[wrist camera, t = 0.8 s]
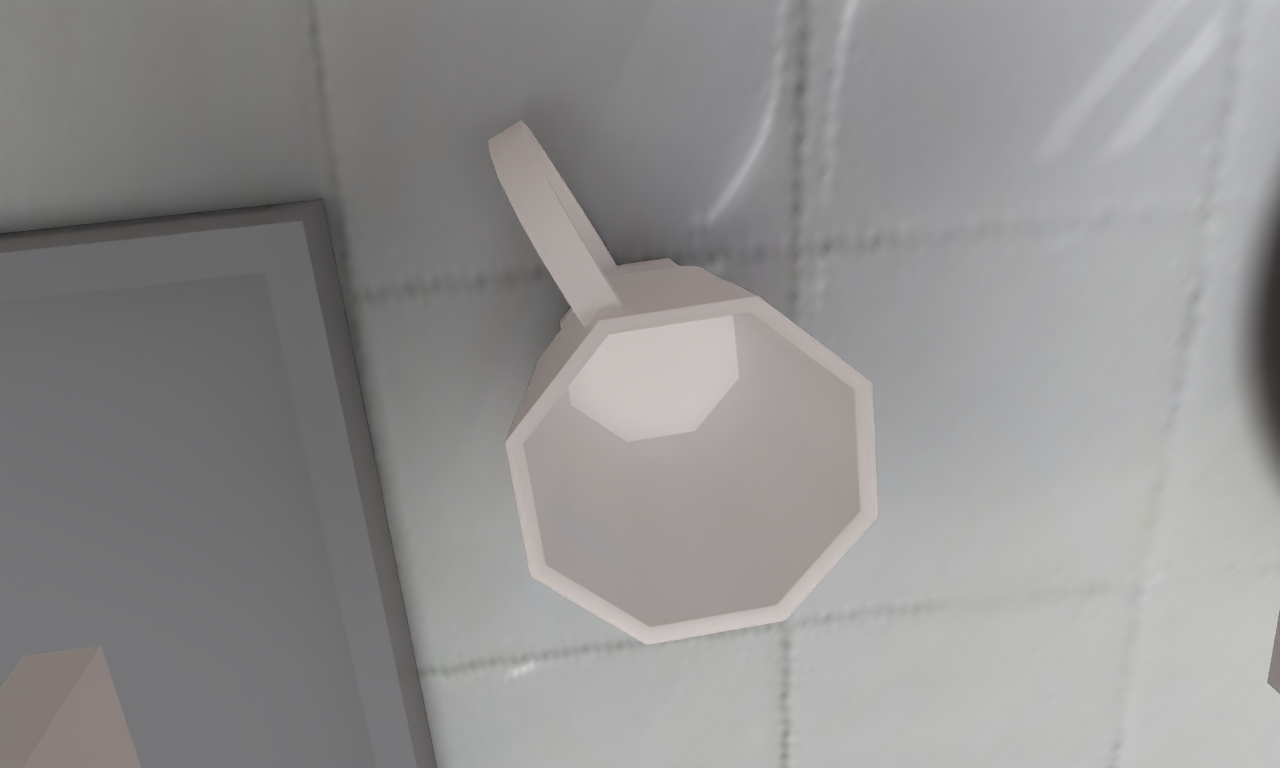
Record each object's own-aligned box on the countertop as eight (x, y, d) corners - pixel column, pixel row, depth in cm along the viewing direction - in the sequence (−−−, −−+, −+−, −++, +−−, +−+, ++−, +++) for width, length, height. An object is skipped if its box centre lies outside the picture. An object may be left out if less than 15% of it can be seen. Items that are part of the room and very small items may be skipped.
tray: (-374, 273, 22) (-473, 304, 20) (322, 199, 23) (302, 220, 21) (-64, 939, 29) (-112, 1016, 27) (454, 857, 30) (450, 925, 28)
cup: (595, 513, 27) (627, 710, 19) (376, 190, 23) (310, 280, 16) (826, 381, 26) (950, 532, 19) (638, 30, 23) (700, 44, 15)
